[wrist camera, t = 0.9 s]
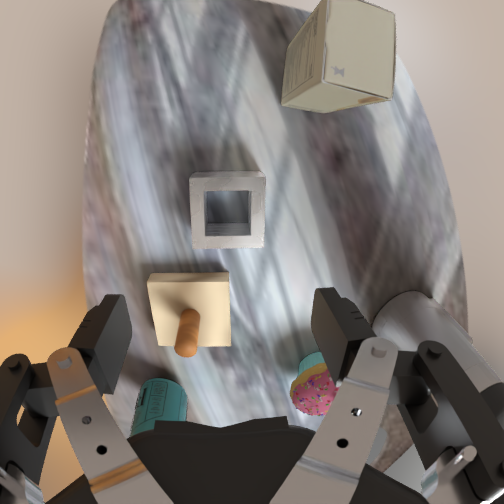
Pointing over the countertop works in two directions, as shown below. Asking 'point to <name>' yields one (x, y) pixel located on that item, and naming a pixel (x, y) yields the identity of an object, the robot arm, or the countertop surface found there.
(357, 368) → the robot arm
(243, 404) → the countertop surface
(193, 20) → the countertop surface
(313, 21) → the skincare box
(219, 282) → the keeper
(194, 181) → the link
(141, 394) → the beverage bottle
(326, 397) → the cupcake
